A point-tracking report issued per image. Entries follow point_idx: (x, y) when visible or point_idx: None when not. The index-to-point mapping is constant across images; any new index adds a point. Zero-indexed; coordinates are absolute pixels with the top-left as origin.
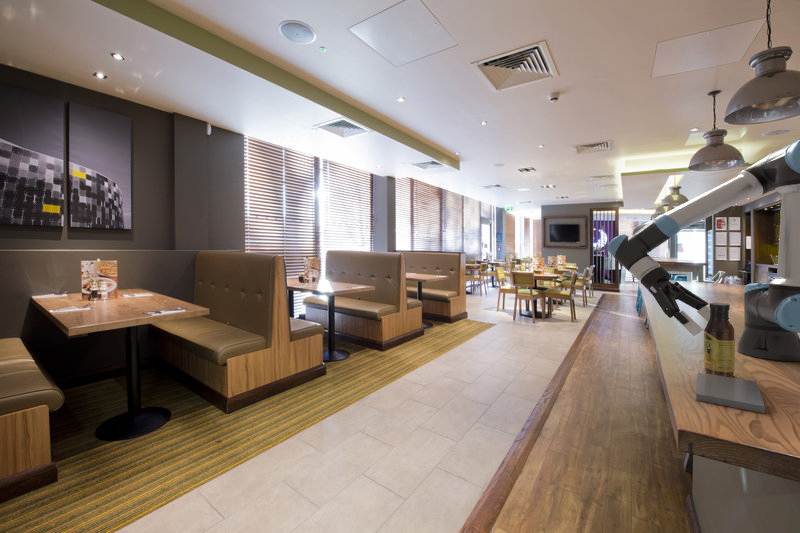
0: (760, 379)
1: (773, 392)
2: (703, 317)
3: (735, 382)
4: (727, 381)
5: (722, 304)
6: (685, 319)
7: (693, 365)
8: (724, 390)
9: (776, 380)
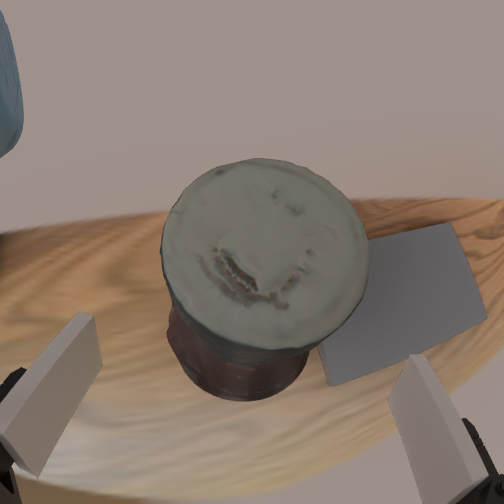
0: None
1: None
2: (61, 433)
3: None
4: (360, 303)
5: (327, 201)
6: (470, 432)
7: (180, 435)
8: (432, 288)
9: None
